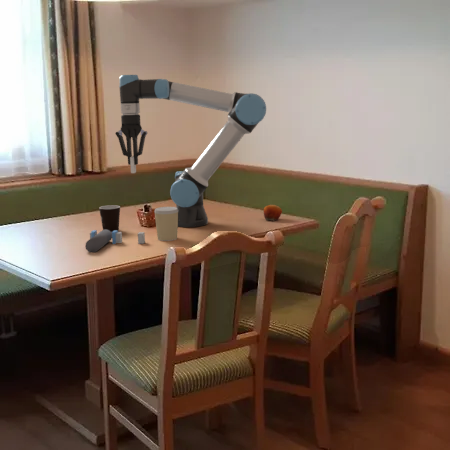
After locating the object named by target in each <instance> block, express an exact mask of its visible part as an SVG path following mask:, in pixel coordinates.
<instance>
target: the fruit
mask: <svg viewBox="0 0 450 450" xmlns="http://www.w3.org/2000/svg"><path fill="white" fill-rule="evenodd" d="M282 213H283V210H282V208H281V207H280V206H278V205H276V204H269V205H266V206H264V208H263V217H264V219H265V220H266V221H273V222H275V221H278V220H279V219H280V217H281V216H282Z"/></svg>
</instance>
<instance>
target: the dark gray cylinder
mask: <svg viewBox="0 0 450 450" xmlns="http://www.w3.org/2000/svg"><path fill="white" fill-rule="evenodd" d="M111 241H112V232H111V231H109V230H107V229H104V230H103V229H102V230H101V231H100V232H97V235H95V236H94V237H92V238H91V239H90V238H89V239H88V240H87V241H86V242H85V244H84V245H85V250H86V251H87V252H89V253H97V251H99V250H100V249H102V248H103V247H104V246H105V245H107V244H108V243H109V242H111Z"/></svg>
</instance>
